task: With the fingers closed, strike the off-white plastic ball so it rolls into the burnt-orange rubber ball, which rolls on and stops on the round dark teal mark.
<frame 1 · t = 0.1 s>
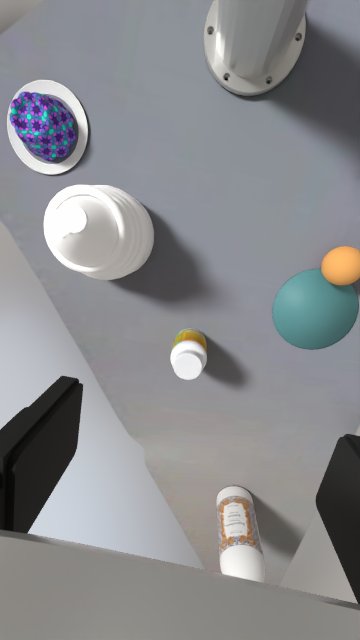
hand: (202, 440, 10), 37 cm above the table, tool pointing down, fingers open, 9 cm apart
pudding: (50, 131, 43), on the table
bath foam: (234, 498, 57), on the table
honey pot: (114, 235, 45), on the table
orange ball: (342, 266, 41), on the table
supplement bottle: (190, 342, 49), on the table
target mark: (314, 310, 46), on the table
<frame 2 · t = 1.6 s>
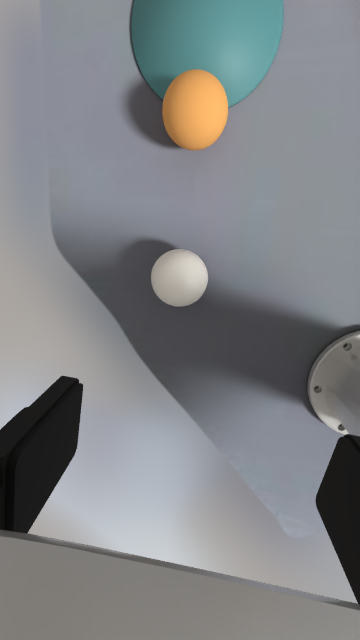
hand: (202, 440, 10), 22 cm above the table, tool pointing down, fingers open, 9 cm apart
orange ball: (195, 112, 24), on the table
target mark: (205, 27, 25), on the table
white ball: (179, 278, 28), on the table
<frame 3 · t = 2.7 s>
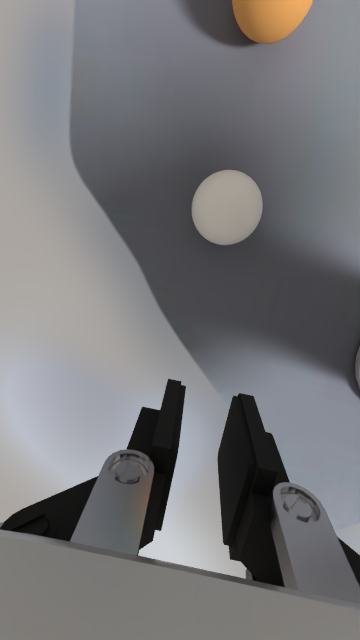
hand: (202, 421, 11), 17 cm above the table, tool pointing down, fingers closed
white ball: (226, 209, 23), on the table
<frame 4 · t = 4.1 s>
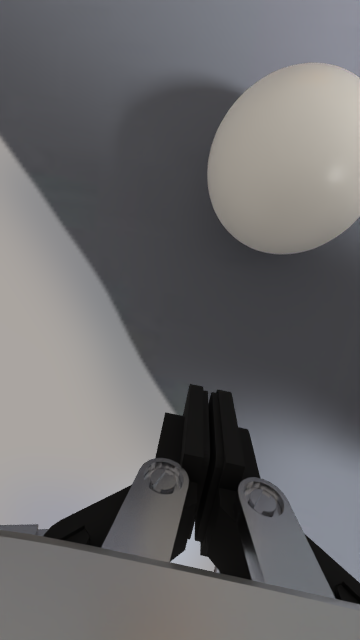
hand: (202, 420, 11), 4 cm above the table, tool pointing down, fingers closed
white ball: (288, 171, 10), on the table
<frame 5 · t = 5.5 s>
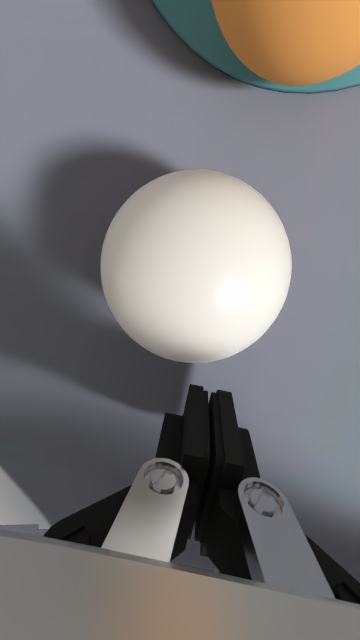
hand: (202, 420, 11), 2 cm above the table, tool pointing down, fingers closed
white ball: (194, 271, 9), on the table
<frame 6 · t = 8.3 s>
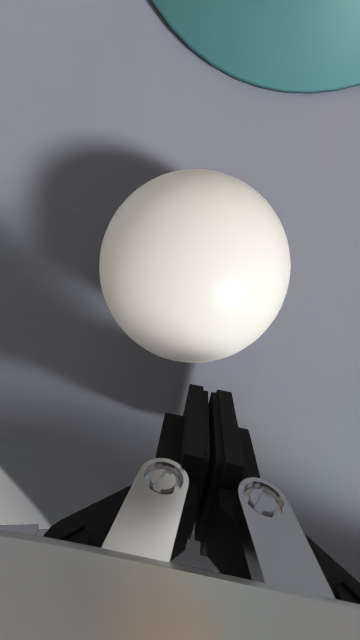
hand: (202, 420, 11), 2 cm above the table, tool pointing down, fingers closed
white ball: (193, 271, 9), on the table
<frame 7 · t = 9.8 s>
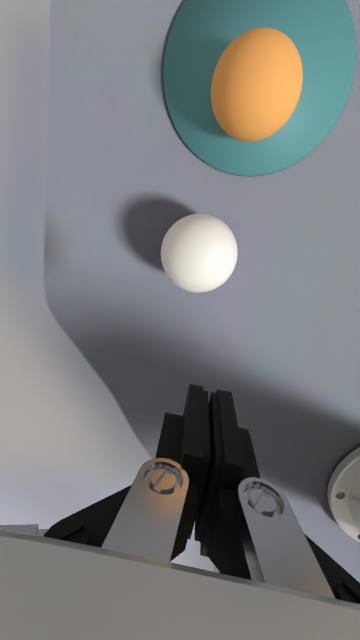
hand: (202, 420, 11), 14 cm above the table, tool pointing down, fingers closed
orange ball: (254, 90, 18), on the table
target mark: (256, 73, 20), on the table
white ball: (198, 254, 21), on the table
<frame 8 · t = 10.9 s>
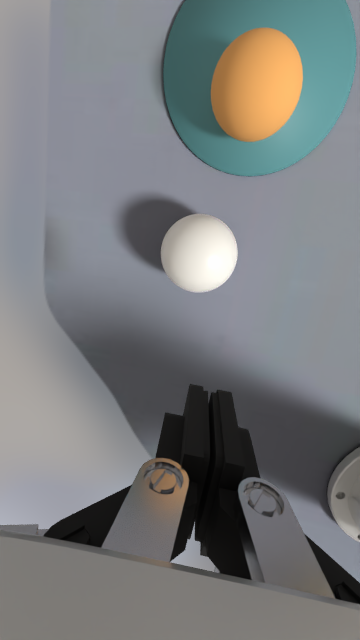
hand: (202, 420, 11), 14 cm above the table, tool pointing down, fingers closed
orange ball: (255, 90, 18), on the table
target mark: (256, 74, 20), on the table
white ball: (198, 254, 21), on the table
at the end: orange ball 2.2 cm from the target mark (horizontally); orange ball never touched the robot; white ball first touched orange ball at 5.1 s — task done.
